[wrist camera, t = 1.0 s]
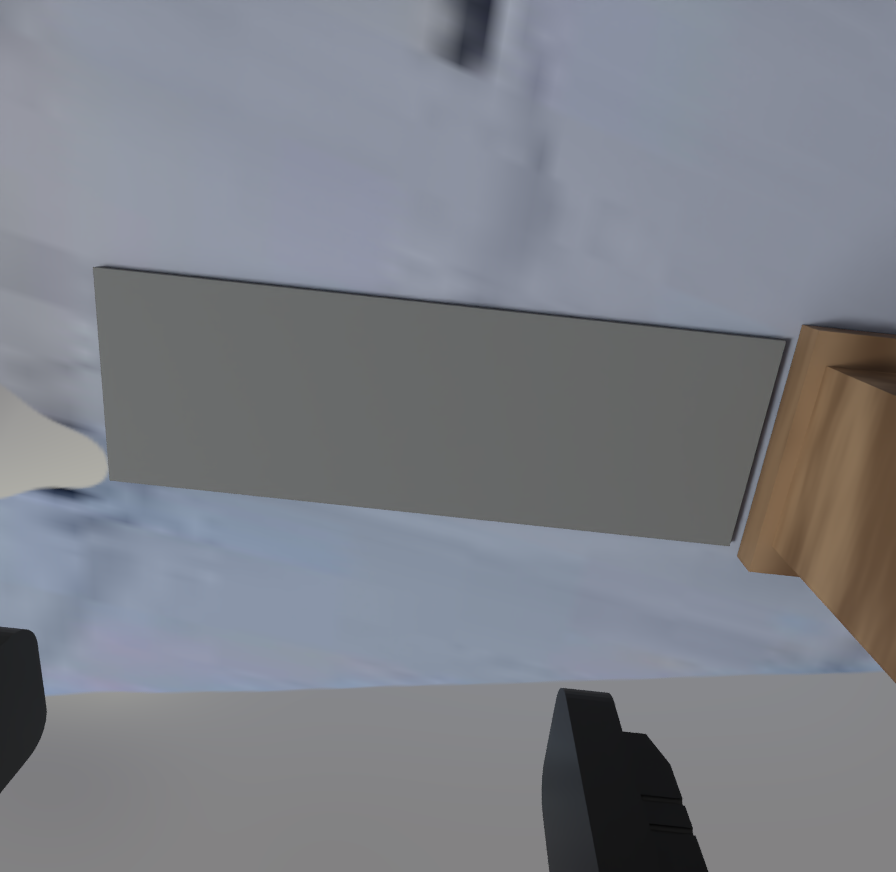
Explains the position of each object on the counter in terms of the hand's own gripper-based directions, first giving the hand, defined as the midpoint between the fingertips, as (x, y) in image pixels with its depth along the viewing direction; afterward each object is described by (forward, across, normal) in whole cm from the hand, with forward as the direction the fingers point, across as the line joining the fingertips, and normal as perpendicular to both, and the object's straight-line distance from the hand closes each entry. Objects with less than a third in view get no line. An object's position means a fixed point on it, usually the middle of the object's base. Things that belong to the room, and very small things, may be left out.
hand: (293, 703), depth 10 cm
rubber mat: (+32, 0, +5) cm, 32 cm away
